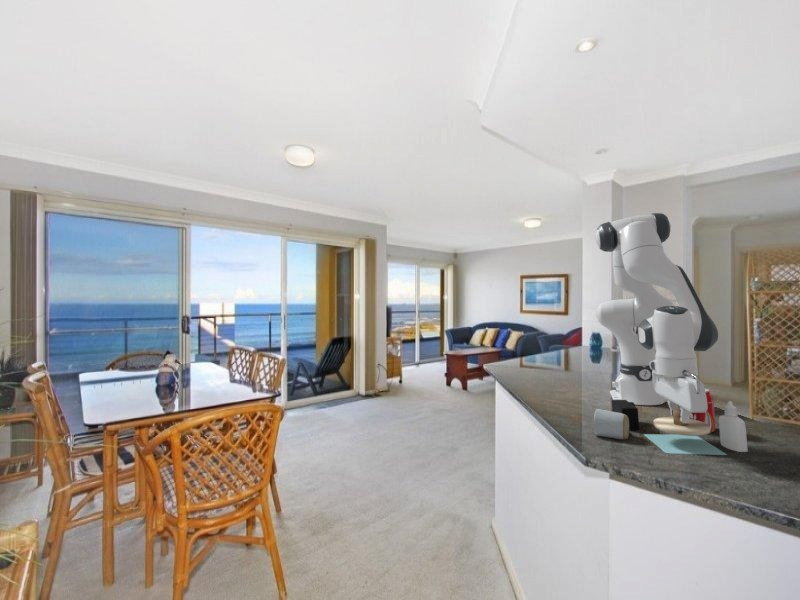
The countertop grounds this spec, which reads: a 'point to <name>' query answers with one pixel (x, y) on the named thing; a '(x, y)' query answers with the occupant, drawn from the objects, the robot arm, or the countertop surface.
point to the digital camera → (627, 412)
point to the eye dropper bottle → (732, 430)
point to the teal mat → (683, 444)
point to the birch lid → (681, 425)
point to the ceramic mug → (611, 424)
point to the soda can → (706, 413)
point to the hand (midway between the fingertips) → (680, 419)
